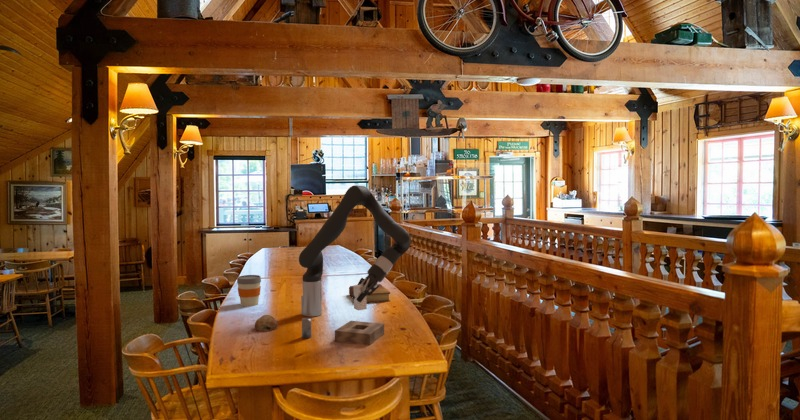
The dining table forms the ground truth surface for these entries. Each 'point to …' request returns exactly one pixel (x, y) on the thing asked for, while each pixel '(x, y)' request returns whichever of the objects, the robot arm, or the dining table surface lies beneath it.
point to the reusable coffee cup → (249, 289)
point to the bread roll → (266, 323)
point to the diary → (375, 294)
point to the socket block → (359, 332)
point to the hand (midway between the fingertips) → (356, 300)
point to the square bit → (357, 291)
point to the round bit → (306, 328)
